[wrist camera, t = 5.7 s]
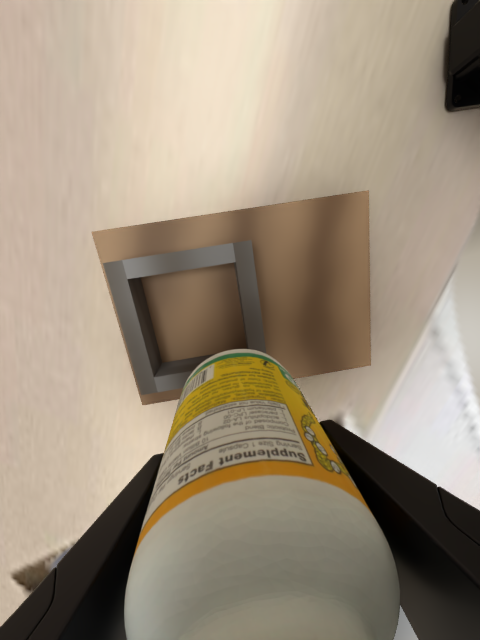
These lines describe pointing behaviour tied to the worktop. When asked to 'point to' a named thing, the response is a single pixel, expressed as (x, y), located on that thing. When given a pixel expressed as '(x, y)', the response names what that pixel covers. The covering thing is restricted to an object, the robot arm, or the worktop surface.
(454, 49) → the robot arm
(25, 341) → the worktop surface
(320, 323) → the socket board
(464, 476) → the worktop surface
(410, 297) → the worktop surface
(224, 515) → the supplement bottle
